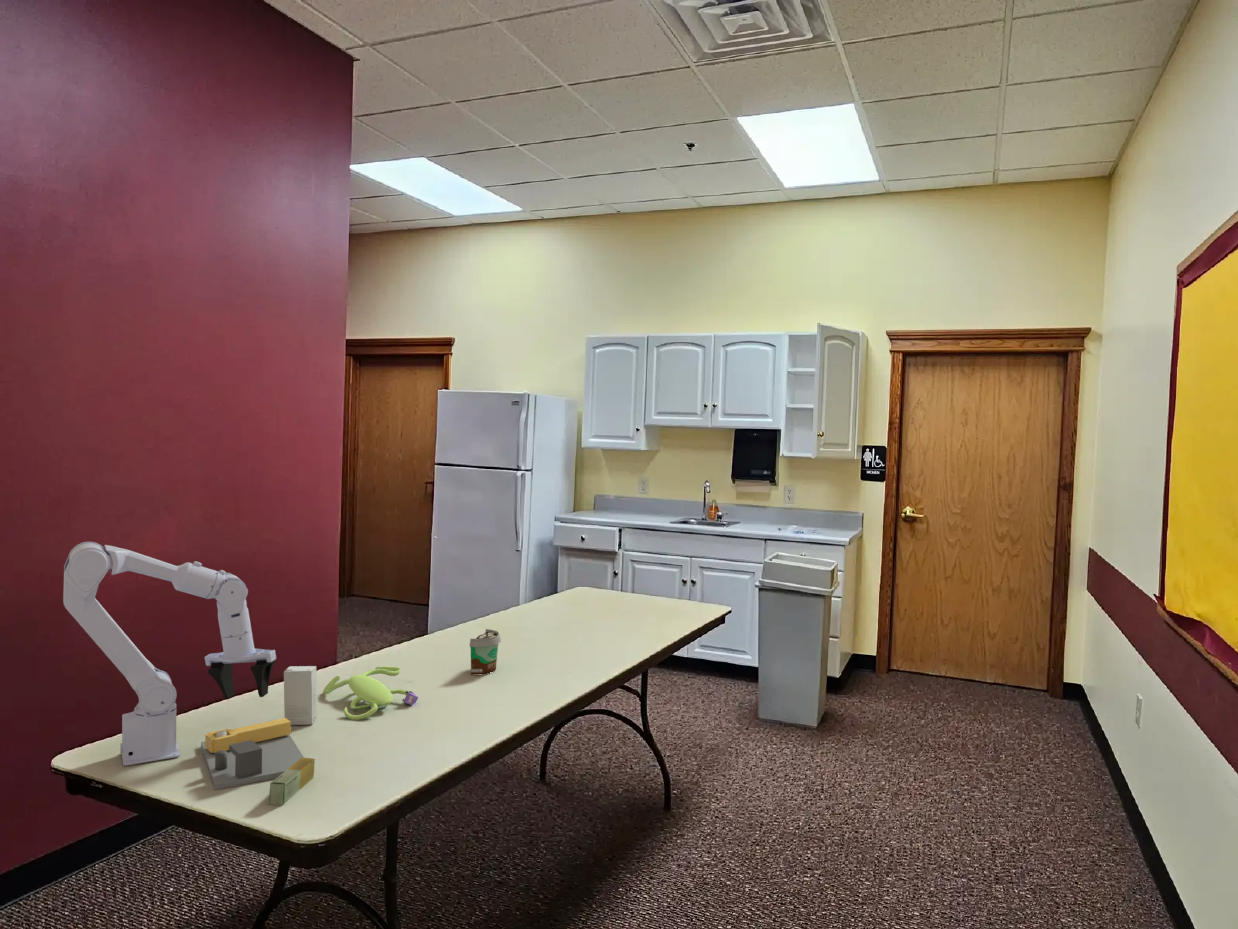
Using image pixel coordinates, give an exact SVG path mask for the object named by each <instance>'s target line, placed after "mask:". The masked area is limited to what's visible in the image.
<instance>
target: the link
mask: <svg viewBox="0 0 1238 929" xmlns="http://www.w3.org/2000/svg"><path fill="white" fill-rule="evenodd" d="M218 731H227V736H223V737H218V738H216V733H217V732H218ZM291 734H292V725H291V721H289V720H288V719H286V718H285V717H283V718H278V719H274V720H269V721H265V722H260V723H255V724H250V725H246V726H242V727H235V728H224V729H219V730H215V731H210V732H207V733H205V740H204V741H205V747H206V748H207V749H208V750H209V751H210V752H211V753H216V752H217V751H221V750H225V751H227V750H229V745H231V744H236V743H240V742H245V741H249V740H252V741H254V742H259V741H263V740H268V739H272V738H276V737H281V736H285V735H290V736H291Z"/></svg>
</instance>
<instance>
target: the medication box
mask: <svg viewBox="0 0 1238 929" xmlns="http://www.w3.org/2000/svg"><path fill="white" fill-rule="evenodd" d="M303 757H304V756H303ZM303 757H302V758H301V759H300V760H298V761H297V762H296V763H295V764H293V765H292V766H291V767H290V768H288V769H287V770H286V771H285V772H284V773H282V774H281V775H280V776H279V777H278V778H275V779H273V780H272V781H271V782H270V783H269V784H270V785H269V796H268V806H275V807H282V806H284V805H285V804H286V803H287V802H288V801H289V800H291V799H292V798H293V797H294V796H295V795H296V794H297V793H298V792H299V791H301V789H303V788H304V787H305V786H307V784H308V783H309V782H310V781H312V780H313V778H314V774H315V758H312V757H311V758H310V757H304V758H303Z"/></svg>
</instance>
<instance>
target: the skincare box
mask: <svg viewBox="0 0 1238 929" xmlns="http://www.w3.org/2000/svg"><path fill="white" fill-rule="evenodd" d="M317 682H318V679H317V666H316V665H315V666H314V665H307V666H306V665H305V666H304V665H303V666H302V665H299V666H297V665H295V666H292V665H291V666H288V667H287V668H286V669H285V670H284V671H283V691H284V692H283V702H284V704H283V705H284V707H283V708H284V718H286V719H288V720H289V721H291V726H302V725H303V726H305V725H306V726H307V725H309V726H312V725H313V724H314V723H315V722H316V721H317V719H318V702H317V701H318V698H317V697H318V695H317V694H318V689H317V688H318V687H317V686H318V684H317Z"/></svg>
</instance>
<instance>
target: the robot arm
mask: <svg viewBox="0 0 1238 929" xmlns="http://www.w3.org/2000/svg"><path fill="white" fill-rule="evenodd" d="M202 565H203V564H202V563H201V562H199V561H196V560H195V561H193V563H192V562H184V563H183V564H180V565H174V564H172V563H169V562H166V561H163V560H160V559H157V558H154V557H151V556H148V555H144V554H142V553H139V552H137V551H133V550H131V549H130V550H129V549H127V548H121V547H117V546H114V545H109V544H104V546H102V545H101V544H99V543H97V542H95V541H84V542H80V543H79V544H76V545H75V546H73V548H71V550H70V551H69V553H68V557H67V558H66V561H65V563H64V565H63V595H62V596H63V598H62V599H63V600H62V601H63V602H62V603H63V606H64V608H65V609H66V610H67V611H68V613H69V615H71V616H72V618H74V620H75V621H76V622H77V623H78V624H79V626H80V627H82V628H83V630H84V631H85V633H87V635H88V636H89V637H90V638H91V639H92V641H93V642H94V643H95V644H96V645H97V646H98V648H99V649H100V650H101V651H102V652H103V653H104V655H105V656H106V657H107V658H108V659H109V660H110V661H111V662H112V664H113V665H114V666H115V667H116V668H117V670H118V671H119V672H120V673H121V674H122V676H124V677H125V679H126V680H127V682H128V683H129V685H130V687H131V688H132V690H134V692H135V694H136V695H137V697H138V702H137V704H136V706H135V707H134V708H133V711H131V712H128V713H123V714H122V717H121V718H122V720H121V727H122V728H121V738H122V739H121V743H120V744H119V745H120V748H119V751H120V754H121V756H122V766H124V767H125V766H132V765H137V764H143V763H150V762H155V761H162V760H167V759H173V758H179V757H180V756H181V752H180V749H179V744H178V741H177V706H178V705H177V703H176V699H177V689H176V687H175V686H174V684H173V683H172V679H171V677H170V675H169V674H168V672H166V671H164V670H160V669H158V668H157V667H155V666H154V665H153V663H151V661H150V660H148V659H147V658H146V657H145V655H144V654H143V653H142V652H141V651H140V649H139V648H138V647H137V646H136V645H135V644H134V642H133V641H132V640H131V639H130V637H129V636H128V635H127V634H126V633H125V632H124V631H123V629H122V628H121V627H120V626H119V625H118V623H117V622H116V621H115V620H114V619H113V617H112V616H111V615H110V614H109V613H108V611H107V610H106V609H105V608H104V607H103V606H102V604H101V603H100V602H99V600H97V599H96V596H97V592H98V589H99V585H100V583H101V581H103V579H104V577H105V576H106V574H107V573H108V572H109V571H110V574H111V576H114V575H117V574H122V573H125V572H132V573H136V574H140V575H145V576H148V577H152V578H156V579H158V580H159V579H160V580H164V581H168V582H171V583H172V585H173V588H174V590H176V591H178V592H182V593H186V594H190V595H193V596H196V597H200V598H204V599H206V600H210V599H215V600H216V607H217V620H218V627H219V633H220V638H221V644H222V652H215V653H214V652H213V653H209V654H207V655H206V656H204V662H205V666H206V667H210V668H208V669H207V673H208V674H209V676H210V677H211V678H212V679H213V680H214V681H215V682H216V683H217V685H218V687H219V688H220V691H221V693H222V694H223V696H224V699H225V700H229V699H230V698H231V697H233V696H234V695H235V689H234V687H235V686H234V681H233V666H234V665H233V664H239V663H241V664H242V663H255V664H253V665H252V666H250V668H249V670H250V671H251V672H252V675H253V676H254V679H255V683H256V688H257V694H258V696H259V698H263V697H265V696H266V695H268V694H269V685H270V684H269V683H270V678H271V673H272V670H273V667H274V665H275V662H276V660H277V653H276V650H275V649H263V648H255V643H254V638H253V632H252V631H253V630H252V626H251V619H250V612H249V608H248V606H247V605H248V604H247V603H248V602H247V596H248V594H249V589H248V588H247V585H246V583H245V582H244V580H241V579H240V578H239V577H238V576H236V575H235V574H232V573H231V572H226V571H225V570H223V569H220V570H219V571H217V570H215V569H211V568H208V567H205V566H202Z"/></svg>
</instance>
